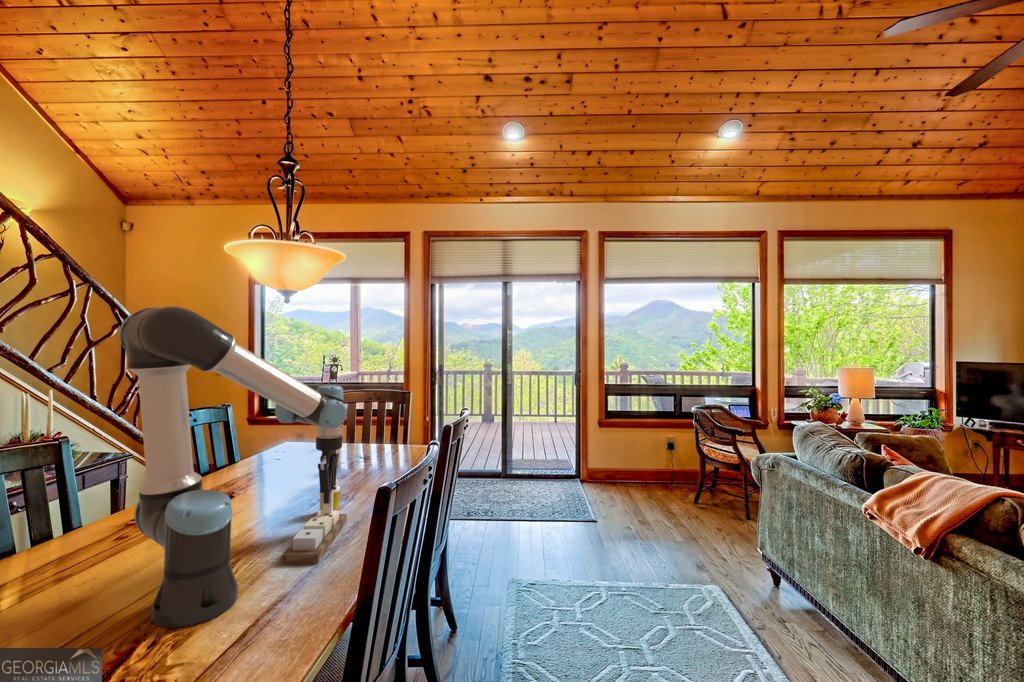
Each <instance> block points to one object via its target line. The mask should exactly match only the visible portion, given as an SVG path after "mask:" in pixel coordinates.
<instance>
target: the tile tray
mask: <svg viewBox="0 0 1024 682" xmlns="http://www.w3.org/2000/svg"><path fill="white" fill-rule="evenodd" d="M347 517H348V515H347V513H339V520H338V521H337V523H336V524H335V525H331V530H330V531H329V532H328V534H327V535H326V537H323V541H322V542H321V543H320V545H319V546H318V547H317V549H316V550H302V551H293V542H292V543H291V544H290V545H289V546H288V547H287V549H286V550H285V551H284V552H283V553H282V554H281V565H311V564H312V565H317V564H318V565H319V563H320V561H321V560H322V559H323V557H324V556H325V555H326V553H327V551H328V550H329V548H330V547H331V546H332V544H333V543H334V540H336V538H337V537H338V535H339V534H340V532H341V530H343V528H344V527H345V525H346V524H347V519H348V518H347Z"/></svg>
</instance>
